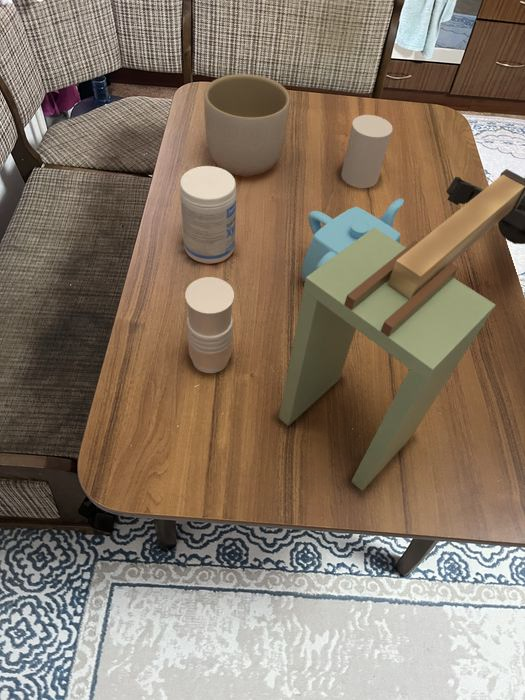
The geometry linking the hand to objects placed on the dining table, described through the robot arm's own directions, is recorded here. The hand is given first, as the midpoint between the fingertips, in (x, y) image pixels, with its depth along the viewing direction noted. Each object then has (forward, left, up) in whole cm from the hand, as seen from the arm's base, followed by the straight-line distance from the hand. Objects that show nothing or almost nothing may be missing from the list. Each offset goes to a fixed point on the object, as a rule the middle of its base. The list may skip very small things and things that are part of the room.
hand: (499, 216), depth 69 cm
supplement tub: (+42, +13, -27) cm, 52 cm away
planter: (+57, -11, -27) cm, 64 cm away
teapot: (+19, -1, -27) cm, 33 cm away
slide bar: (0, +13, +3) cm, 13 cm away
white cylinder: (+37, -27, -27) cm, 53 cm away
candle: (+23, +30, -27) cm, 46 cm away
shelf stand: (0, +24, -27) cm, 36 cm away
